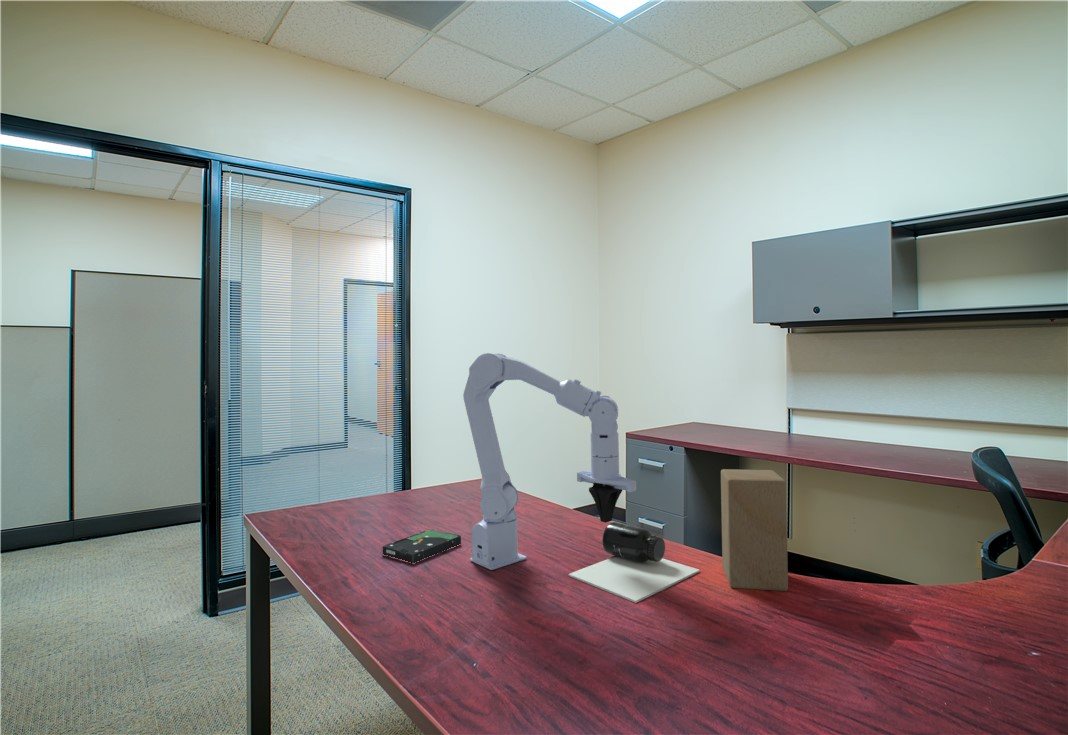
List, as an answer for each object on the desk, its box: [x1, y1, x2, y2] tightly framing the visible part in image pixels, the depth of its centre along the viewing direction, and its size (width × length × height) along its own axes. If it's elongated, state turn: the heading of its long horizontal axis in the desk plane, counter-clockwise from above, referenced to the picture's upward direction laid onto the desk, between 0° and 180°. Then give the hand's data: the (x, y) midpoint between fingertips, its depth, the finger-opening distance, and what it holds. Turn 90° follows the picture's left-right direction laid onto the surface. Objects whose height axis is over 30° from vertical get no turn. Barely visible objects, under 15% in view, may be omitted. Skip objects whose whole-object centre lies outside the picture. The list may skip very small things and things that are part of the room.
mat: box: [568, 555, 701, 604], centre depth 106 cm, size 20×16×1 cm
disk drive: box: [382, 528, 462, 563], centre depth 123 cm, size 10×3×15 cm
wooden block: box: [720, 468, 789, 592], centre depth 103 cm, size 10×10×20 cm
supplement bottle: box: [601, 521, 666, 563], centre depth 113 cm, size 7×7×12 cm
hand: (606, 521), depth 112 cm, fingers closed
